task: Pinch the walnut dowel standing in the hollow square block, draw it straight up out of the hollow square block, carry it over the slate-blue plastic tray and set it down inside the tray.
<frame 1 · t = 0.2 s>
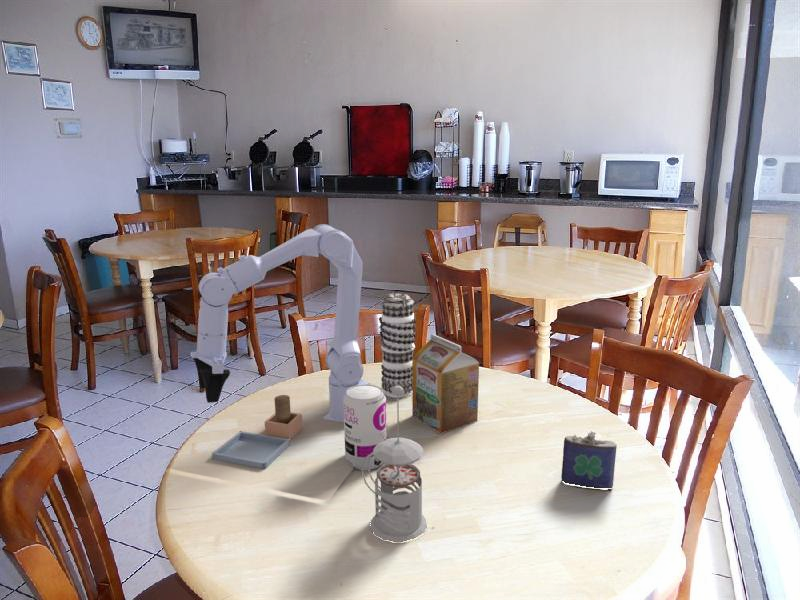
hand: (208, 394, 127), 11 cm above the table, tool pointing down, fingers open, 7 cm apart
decorative candle: (398, 391, 154), on the table
supplement can: (366, 461, 122), on the table
french press: (394, 523, 102), on the table
dowel: (284, 432, 132), point 1 cm above the table, touching hollow square block
flask: (586, 485, 113), on the table
milk carton: (444, 419, 139), on the table
hollow square block: (284, 434, 132), on the table
tray: (252, 454, 124), on the table
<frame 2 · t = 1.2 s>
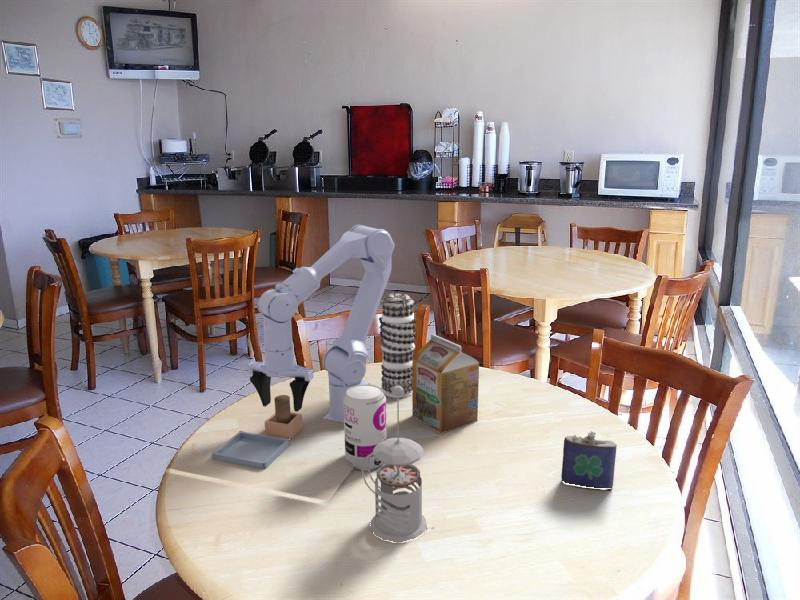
hand: (282, 407, 130), 7 cm above the table, tool pointing down, fingers open, 7 cm apart
nothing on the table moved.
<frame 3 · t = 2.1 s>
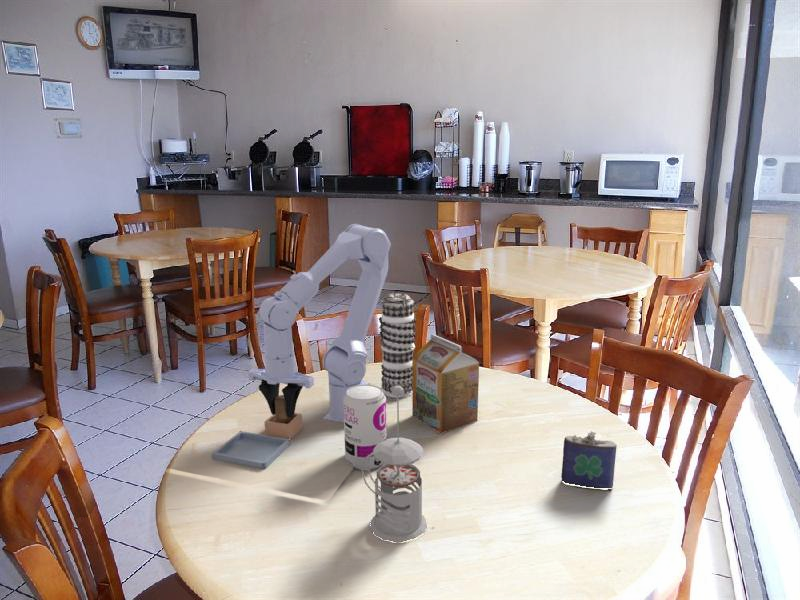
hand: (283, 413, 131), 5 cm above the table, tool pointing down, fingers closed on dowel, 3 cm apart
dowel: (284, 432, 132), point 1 cm above the table, touching hollow square block, gripper
everything else where it was.
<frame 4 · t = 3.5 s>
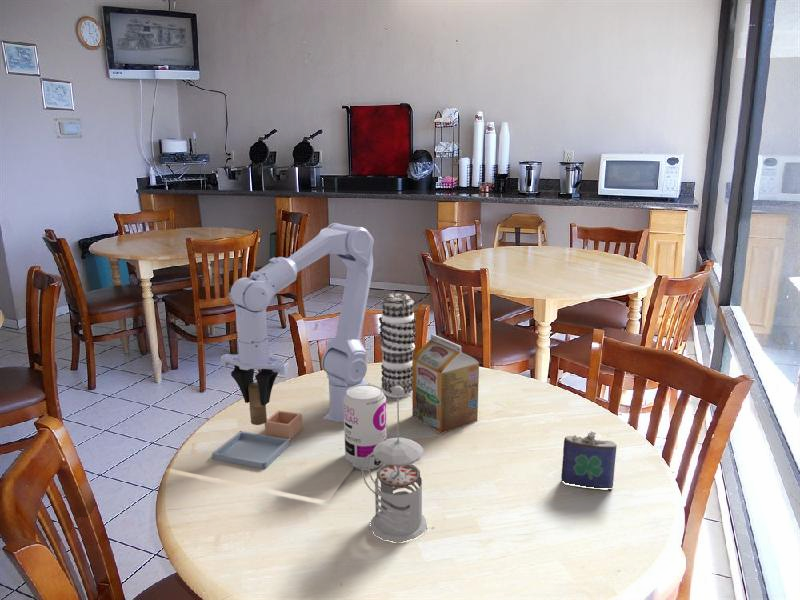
hand: (257, 402, 124), 11 cm above the table, tool pointing down, fingers closed on dowel, 3 cm apart
dowel: (258, 421, 125), point 6 cm above the table, touching gripper
everything else where it was.
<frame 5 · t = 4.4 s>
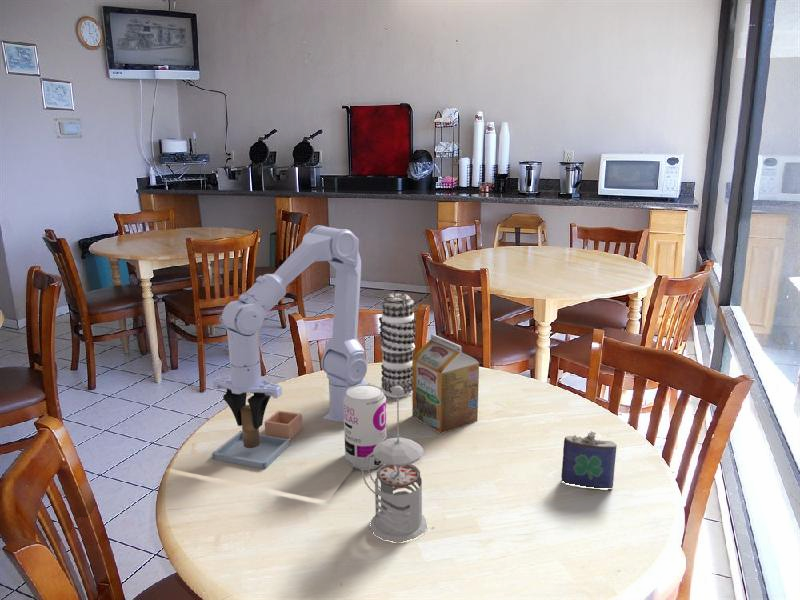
hand: (250, 425, 122), 7 cm above the table, tool pointing down, fingers closed on dowel, 3 cm apart
dowel: (251, 444, 124), point 2 cm above the table, touching gripper
everything else where it was.
when the fingers open (6 cm above the table, at t = 4.9 s): dowel stays where it is, resting on tray.
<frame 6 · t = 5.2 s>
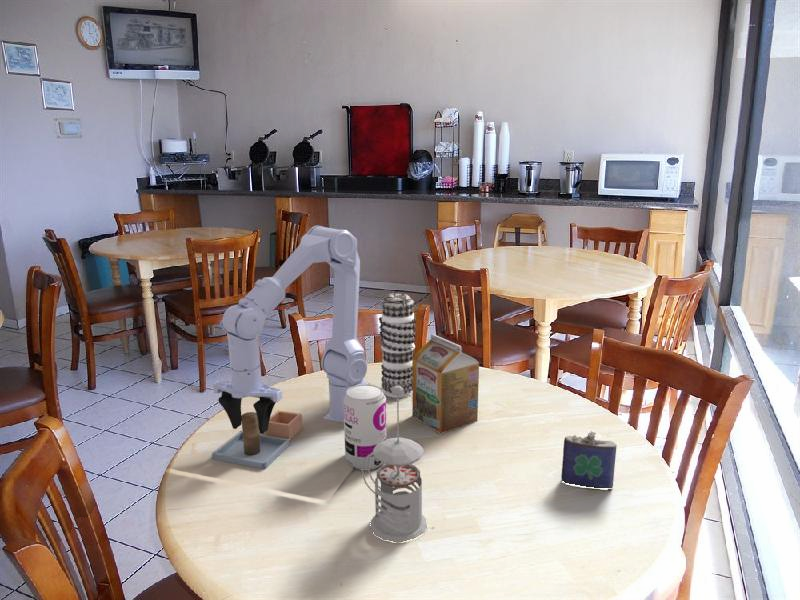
hand: (250, 429, 123), 6 cm above the table, tool pointing down, fingers open, 6 cm apart
dowel: (252, 451, 124), point 1 cm above the table, touching tray
everything else where it was.
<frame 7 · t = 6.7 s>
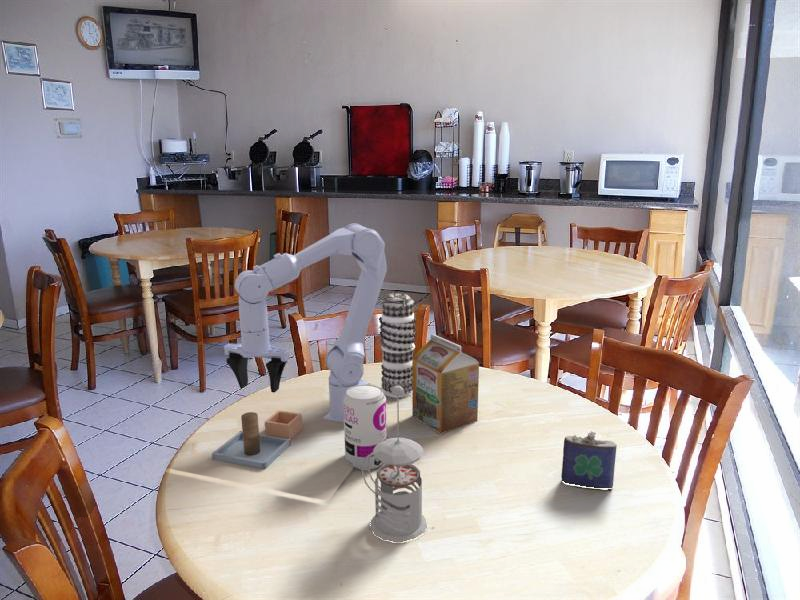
hand: (259, 388, 131), 10 cm above the table, tool pointing down, fingers open, 7 cm apart
nothing on the table moved.
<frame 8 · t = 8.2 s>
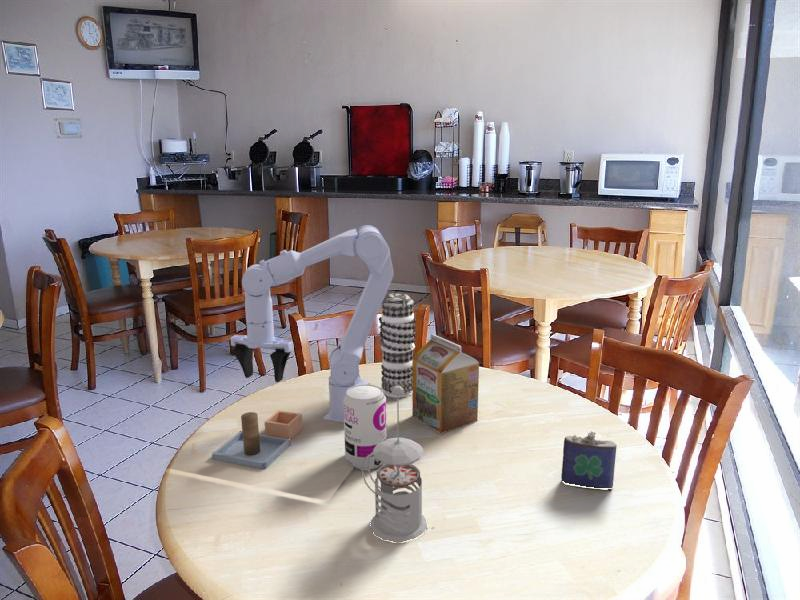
hand: (264, 378, 136), 10 cm above the table, tool pointing down, fingers open, 7 cm apart
nothing on the table moved.
at the end: dowel inside the target area on the tray (0.1 cm from its centre), point 0.6 cm above the tray's base; dowel touching tray; the gripper is holding nothing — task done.
